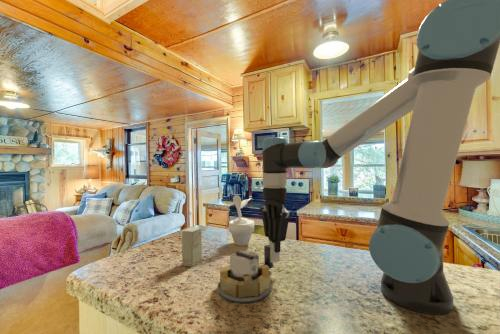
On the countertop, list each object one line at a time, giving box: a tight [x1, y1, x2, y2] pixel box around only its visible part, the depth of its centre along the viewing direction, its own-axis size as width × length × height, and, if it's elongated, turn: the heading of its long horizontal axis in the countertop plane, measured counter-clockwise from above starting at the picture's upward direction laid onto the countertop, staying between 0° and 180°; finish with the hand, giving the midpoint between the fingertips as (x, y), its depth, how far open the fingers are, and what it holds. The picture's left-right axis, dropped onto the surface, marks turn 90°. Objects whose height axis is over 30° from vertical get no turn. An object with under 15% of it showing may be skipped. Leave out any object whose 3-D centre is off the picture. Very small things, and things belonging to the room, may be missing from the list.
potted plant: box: [228, 189, 255, 247], centre depth 102 cm, size 13×12×25 cm
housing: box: [217, 250, 273, 305], centre depth 64 cm, size 15×15×10 cm
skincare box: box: [181, 226, 203, 268], centre depth 82 cm, size 6×4×12 cm
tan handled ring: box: [219, 244, 274, 297], centre depth 67 cm, size 21×14×7 cm, turn 144°
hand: (274, 261), depth 72 cm, fingers closed
